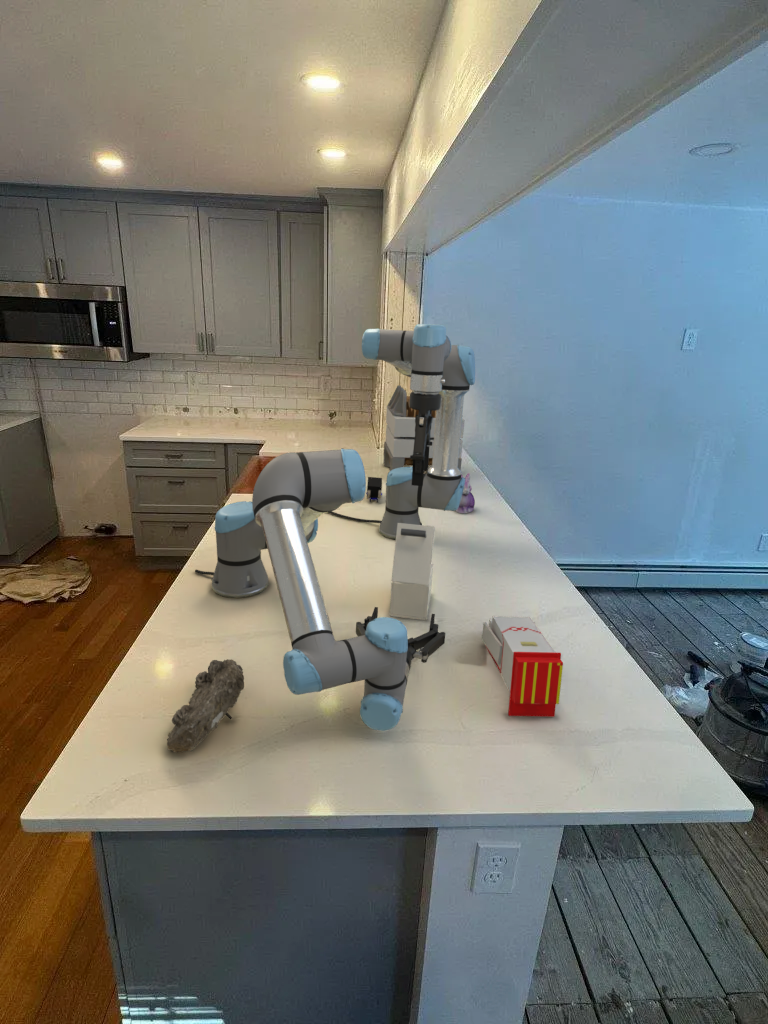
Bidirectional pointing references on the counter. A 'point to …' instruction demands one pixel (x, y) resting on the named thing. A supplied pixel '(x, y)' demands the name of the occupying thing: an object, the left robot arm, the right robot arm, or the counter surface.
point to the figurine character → (374, 488)
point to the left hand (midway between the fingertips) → (404, 615)
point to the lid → (413, 553)
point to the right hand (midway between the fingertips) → (420, 477)
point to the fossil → (206, 705)
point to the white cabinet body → (410, 599)
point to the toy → (525, 665)
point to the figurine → (466, 497)
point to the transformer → (405, 432)
